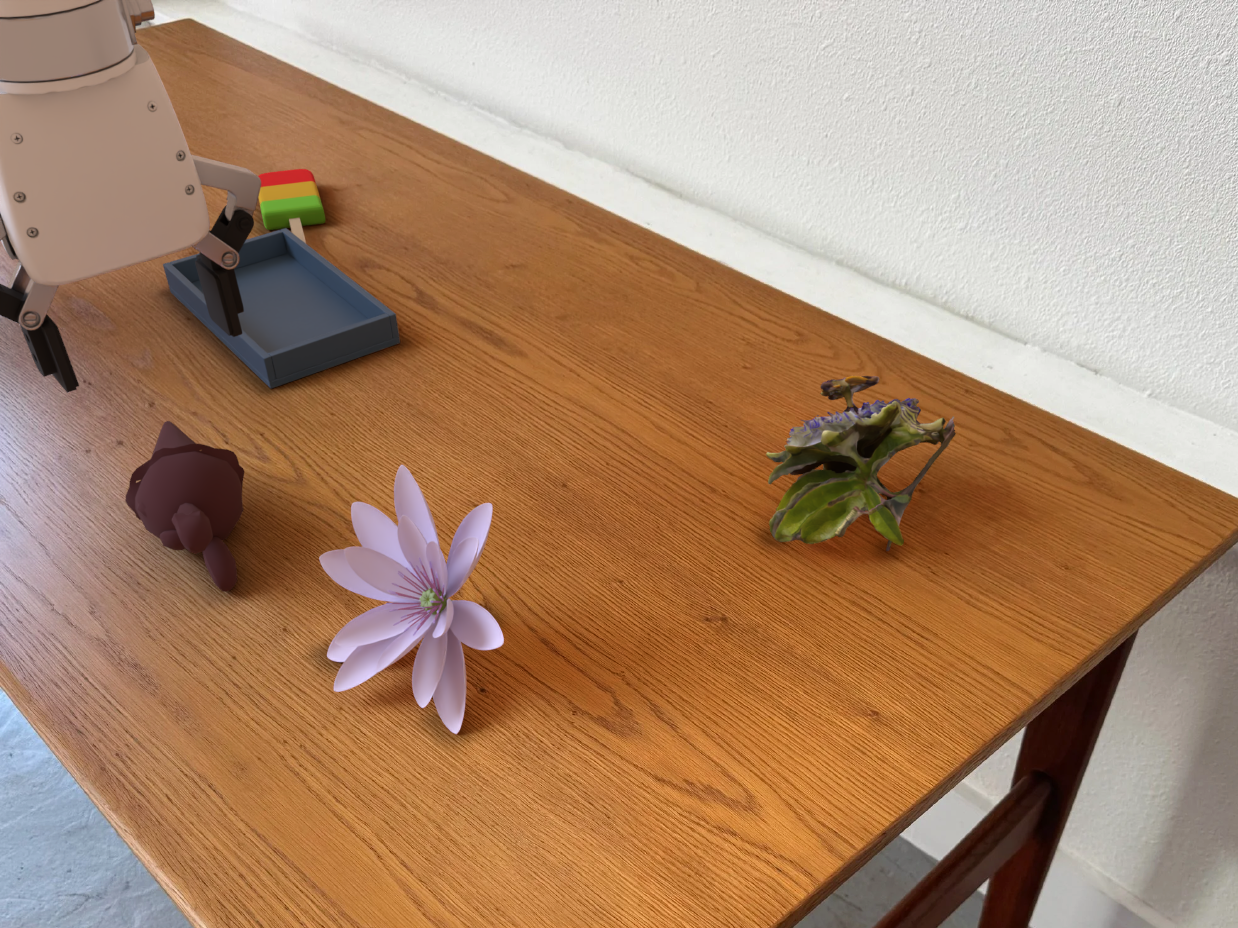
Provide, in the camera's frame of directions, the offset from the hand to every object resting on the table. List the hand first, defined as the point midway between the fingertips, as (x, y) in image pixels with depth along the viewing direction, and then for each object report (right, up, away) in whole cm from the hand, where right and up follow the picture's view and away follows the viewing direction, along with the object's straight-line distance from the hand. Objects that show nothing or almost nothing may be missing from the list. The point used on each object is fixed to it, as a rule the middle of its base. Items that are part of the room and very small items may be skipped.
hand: (148, 353), depth 71 cm
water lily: (+15, -18, +1) cm, 24 cm away
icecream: (0, -10, +9) cm, 14 cm away
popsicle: (-4, +22, +43) cm, 49 cm away
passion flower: (+43, -9, +11) cm, 45 cm away
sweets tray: (-1, +10, +30) cm, 32 cm away
